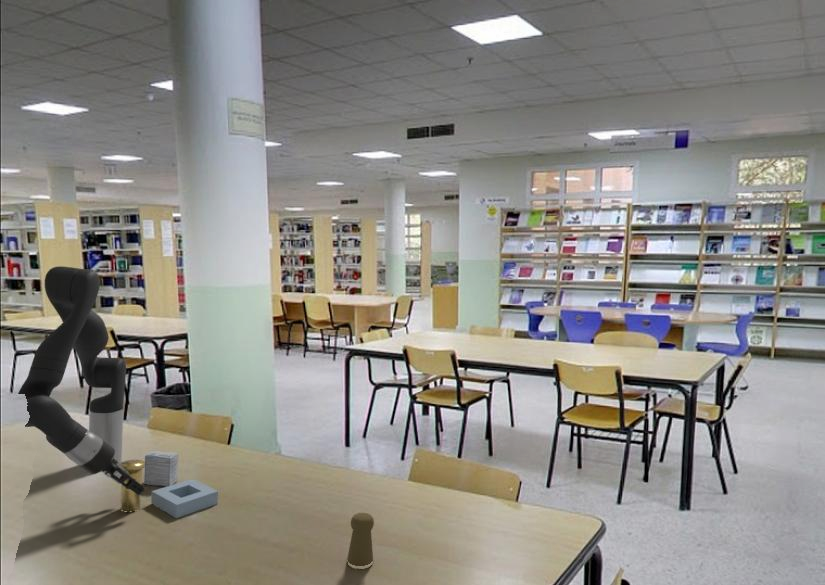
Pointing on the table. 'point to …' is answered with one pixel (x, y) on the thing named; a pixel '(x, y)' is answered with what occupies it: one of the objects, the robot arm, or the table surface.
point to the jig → (184, 498)
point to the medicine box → (161, 468)
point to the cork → (361, 540)
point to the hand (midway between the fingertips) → (136, 486)
